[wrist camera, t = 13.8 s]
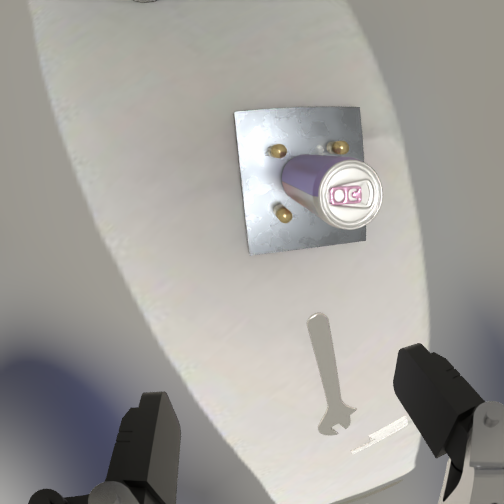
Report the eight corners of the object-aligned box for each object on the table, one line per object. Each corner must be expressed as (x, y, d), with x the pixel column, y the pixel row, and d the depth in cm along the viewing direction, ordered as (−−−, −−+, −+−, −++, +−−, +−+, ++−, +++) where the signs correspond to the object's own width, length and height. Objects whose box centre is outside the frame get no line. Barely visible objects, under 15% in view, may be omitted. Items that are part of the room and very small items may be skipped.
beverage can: (278, 155, 36) (314, 158, 22) (325, 153, 37) (384, 157, 22) (282, 204, 38) (318, 235, 24) (328, 200, 38) (384, 228, 24)
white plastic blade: (346, 443, 58) (347, 447, 57) (404, 412, 57) (406, 415, 56) (351, 452, 60) (353, 455, 59) (406, 422, 59) (408, 425, 58)
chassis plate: (233, 113, 35) (235, 107, 31) (355, 108, 36) (371, 104, 32) (248, 251, 41) (252, 265, 36) (361, 237, 42) (377, 248, 37)
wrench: (320, 437, 56) (321, 439, 55) (287, 321, 46) (288, 324, 45) (357, 423, 56) (358, 426, 55) (339, 303, 46) (341, 305, 45)
